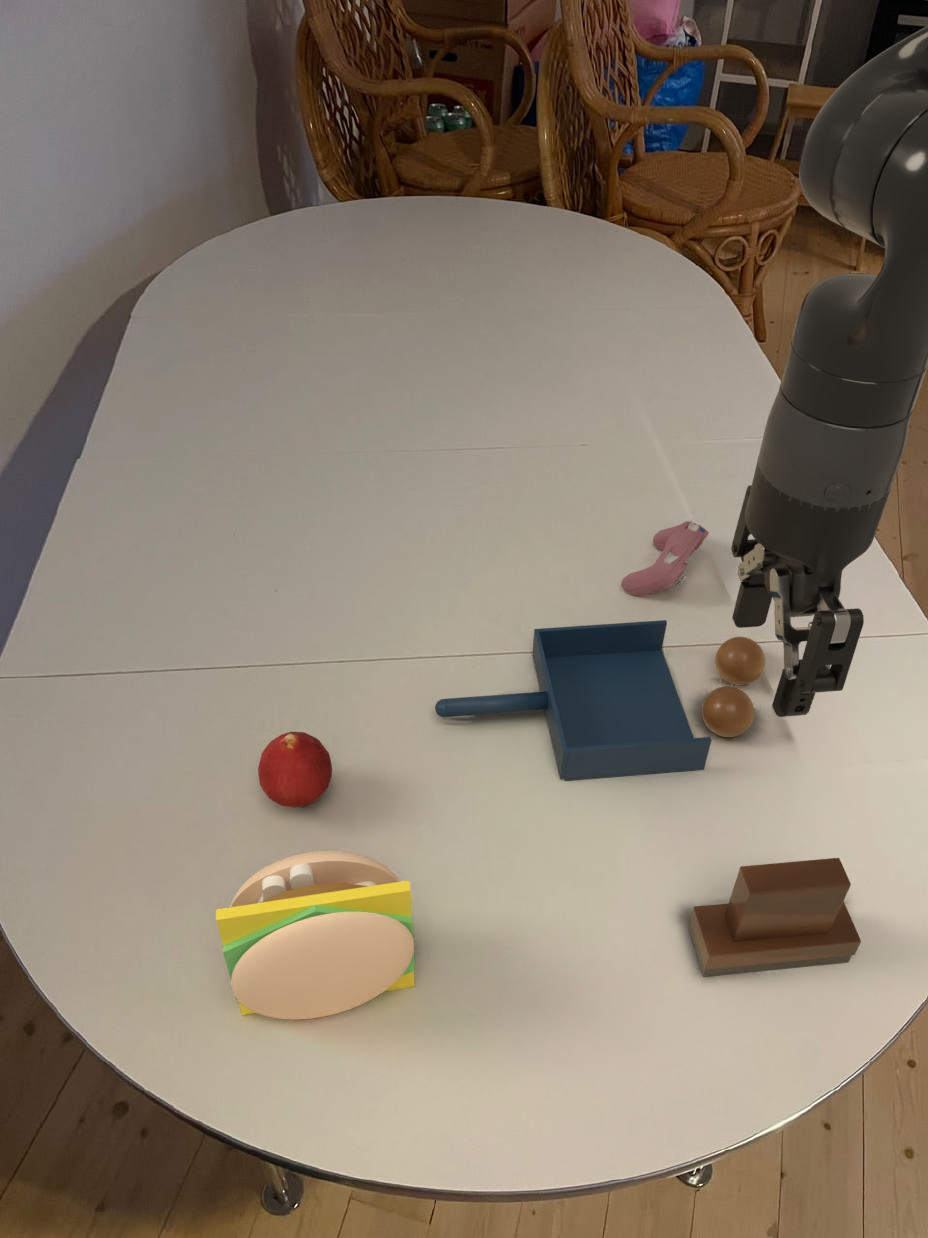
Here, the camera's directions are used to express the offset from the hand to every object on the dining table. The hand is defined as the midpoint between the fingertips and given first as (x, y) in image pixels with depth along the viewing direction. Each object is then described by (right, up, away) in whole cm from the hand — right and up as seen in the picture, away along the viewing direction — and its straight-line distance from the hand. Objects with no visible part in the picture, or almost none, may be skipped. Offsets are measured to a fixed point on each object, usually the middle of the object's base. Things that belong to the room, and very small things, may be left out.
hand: (767, 665), depth 70 cm
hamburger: (-30, -22, +4) cm, 38 cm away
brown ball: (+5, -1, +25) cm, 25 cm away
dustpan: (-12, -5, +22) cm, 26 cm away
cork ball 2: (+2, -5, +20) cm, 21 cm away
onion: (-34, -12, +15) cm, 39 cm away
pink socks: (0, +7, +37) cm, 38 cm away
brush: (+2, -21, +6) cm, 22 cm away
